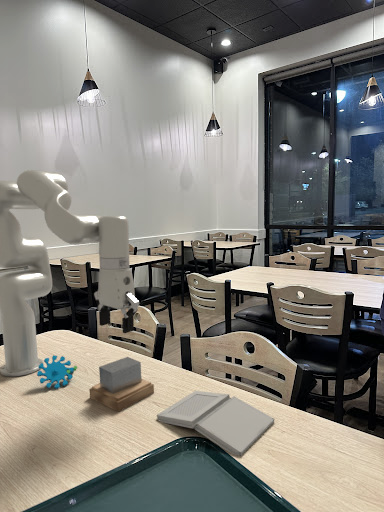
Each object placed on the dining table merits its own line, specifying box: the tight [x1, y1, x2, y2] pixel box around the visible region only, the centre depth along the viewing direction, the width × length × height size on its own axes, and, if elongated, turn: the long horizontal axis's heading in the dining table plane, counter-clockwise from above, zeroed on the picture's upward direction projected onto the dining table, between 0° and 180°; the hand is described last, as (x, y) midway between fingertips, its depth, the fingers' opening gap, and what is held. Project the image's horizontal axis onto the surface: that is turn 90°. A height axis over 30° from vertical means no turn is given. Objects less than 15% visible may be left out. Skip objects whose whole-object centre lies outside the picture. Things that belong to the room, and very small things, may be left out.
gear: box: [36, 355, 78, 390], centre depth 104 cm, size 11×6×10 cm
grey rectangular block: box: [98, 356, 142, 394], centre depth 94 cm, size 9×6×6 cm, turn 136°
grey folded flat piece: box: [156, 390, 275, 457], centre depth 81 cm, size 23×15×4 cm, turn 51°
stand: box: [88, 378, 155, 413], centre depth 94 cm, size 12×12×3 cm
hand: (116, 328), depth 93 cm, fingers open, 9 cm apart
